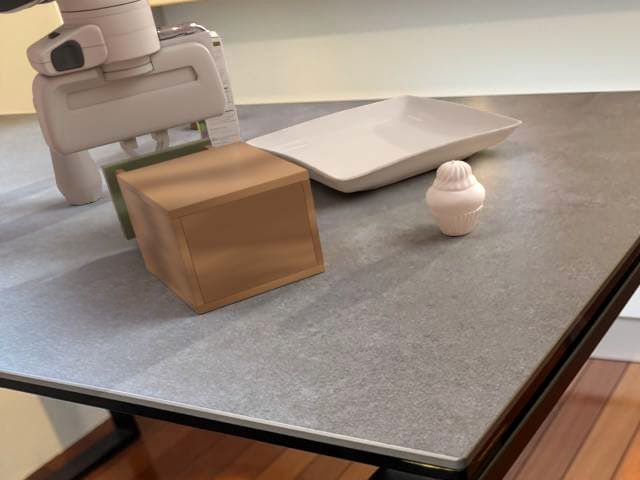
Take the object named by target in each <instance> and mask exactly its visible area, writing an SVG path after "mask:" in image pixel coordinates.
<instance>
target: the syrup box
mask: <svg viewBox="0 0 640 480" xmlns="http://www.w3.org/2000/svg"><path fill="white" fill-rule="evenodd" d="M207 31H208V32H209V33H210V35H211V38H212V42H213V46H214V51H215V60H214V63H215V65H216V68H217V70H218V73H219V76H220V79H221V82H222V85H223V88H224V91H225V95H226V99H227V107H226V110H225V113H224V114H223V115H221V116H218V117H214V118H210V119H206V120H202V121H198V122H197V126H198V130H197V131H198V133H199V138H200V139H203V138H209V139H211V143H212V146H213V147H220V146H224V145H227V144H231V143H235V142H238V141H242V142H243V138H242V131H241V127H240V122H239V118H238V113H237V108H236V104H235V103H236V102H235V98H234V93H233V90H232V83H231V79H230V75H229V69H228V64H227V61H226V56H225V51H224V47H223V42H222V37H221V36H220V34H219V33H217V32H216V31H214V30H213V31H212V30H211V31H209V30H207Z"/></svg>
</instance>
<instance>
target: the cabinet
mask: <svg viewBox="0 0 640 480" xmlns="http://www.w3.org/2000/svg"><path fill="white" fill-rule="evenodd" d="M116 176H117V180H118V183H119V186H120V189H121V192H122V195H123V198H124V201H125V204H126V207H127V210H128V213H129V216H130V219H131V222H132V225H133V228H134V231H135V235H136V238H137V239H136V238H135V239H136V241H137V244H138V247H139V250H140V252H141V256H142V259H143V262H144V264H145V267H146V270H148V271H149V272H150V273H151V274H152V275H153V276H154V277H156V278H157V279H158V281H160V282H161V283H162V284H164V286H166V287H167V288H168V289H169V290H170V291H172V292H173V293H174V295H176V296H177V297H178V298H179V299H181V300H182V302H183V303H185V304H186V305H187V306H189V307H190V309H192V310H193V311H194V312H195V313H196V314H197V315H203V314H206V313H208V312H211V311H214V310H217V309H220V308H223V307H226V306H230V305H232V304H234V303H237V302H240V301H243V300H246V299H249V298H251V297H255V296H257V295H260V294H263V293H267V292H269V291H272V290H275V289H279V288H280V287H284V286H287V285H289V284H292V283H295V282H298V281H300V280H304V279H306V278H310V277H313V276H316V275H318V274H321V273H323V272H326V267H325V259H324V255H323V254H324V253H323V248H322V242H321V237H320V232H319V227H318V226H319V225H318V221H317V215H316V209H315V203H314V198H313V192H312V187H311V181H310V178H309V175H308V170H307V169H304V168H302V167H300V166H297V165H295V164H293V163H290V162H288V161H286V160H284V159H281V158H279V157H277V156H274V155H272V154H270V153H267V152H265V151H263V150H260V149H258V148H256V147H254V146H251V145H249V144H247V143H245V141H243V140H242V141H238V142H235V143H231V144H227V145H224V146H220V147H216V148H213V149H209V150H205V151H202V152H198V153H194V154H191V155H187V156H183V157H180V158H176V159H172V160H169V161H165V162H161V163H158V164H154V165H150V166H147V167H143V168H139V169H135V170H132V171H128V172H124V173H121V174H117V175H116Z"/></svg>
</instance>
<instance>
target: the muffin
mask: <svg viewBox="0 0 640 480" xmlns="http://www.w3.org/2000/svg"><path fill="white" fill-rule="evenodd" d="M485 198H486V189H485V187H484V186H483V185H482V184H481V183H480V182H479V181H478V180H477V178H476V177H475V176H474V174H473V173H472V167H471V166H470V164H468V163H467V162H465V161H463V160H460V161H454V160H452V161H450V162H446V163H444V164H442V165H441V166H440V167H438V168H437V170H436V177H435V179H434V181H433V183H432V185H431V186H429V187H428V189H427V190H426V193H425V203H426V206H427V207H428V209H429V213H430V214H431V216H432V218H433V220H434V221H435V223H436V224H437V226H438V228H439V229H440V231H441V232H442V233H443V234H444V235H446V236H451V237H452V236H453V237H458V236H459V237H460V236H464V235H468V234H469V233H472V231H473V230H474V229H475V226H476V224H477V221H478V219H479V217H480V214H481V212H482V209H483V208H484V204H483V203H484V201H485Z"/></svg>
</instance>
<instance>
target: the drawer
mask: <svg viewBox="0 0 640 480" xmlns="http://www.w3.org/2000/svg"><path fill="white" fill-rule="evenodd" d="M213 148H216V147H213V146H212V143H211V139H209V138H203V139H201V138H200V139H196V140H192V141H188V142H184V143H181V144H176V145H172V146H168V148H165V149H162V150H158V151H155V150H154V151H151V152H147V153H143V154H140V155H139V154H138V155H139V156H135V157H128V158H125V159H120V160H117V161H112V162H109V163H106V164H102V165H100V169H101V172H102V175H103V178H104V181H105V183H106V186H107V189H108V191H109V195H110V198H111V201H112V204H113V208H114V210H115V213H116V216H117V219H118V223H119V226H120V228H121V230H122V234H123V237H124V239H125V240H127V241H131V240H134V239H136V240H137V238H136V235H135V231H134V228H133V225H132V222H131V219H130V216H129V213H128V210H127V207H126V204H125V201H124V198H123V195H122V192H121V189H120V186H119V183H118V180H117V176H116V175H117V174H121V173H124V172H128V171H132V170H135V169H139V168H143V167H147V166H150V165H154V164H158V163H161V162H165V161H169V160H172V159H176V158H180V157H183V156H187V155H191V154H194V153H198V152H202V151H205V150H209V149H213Z"/></svg>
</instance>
